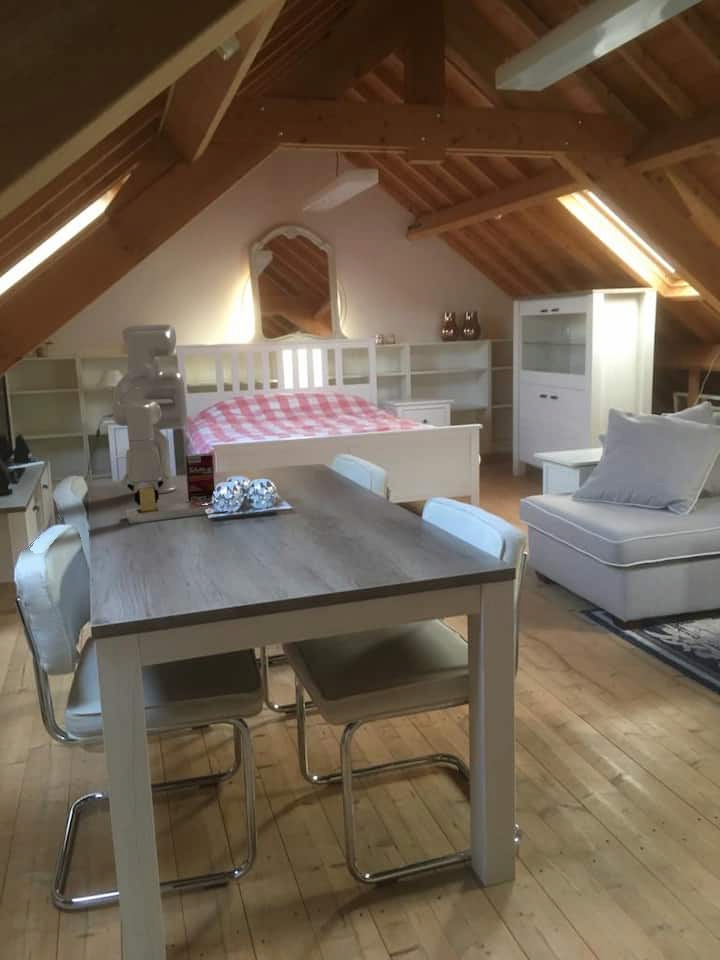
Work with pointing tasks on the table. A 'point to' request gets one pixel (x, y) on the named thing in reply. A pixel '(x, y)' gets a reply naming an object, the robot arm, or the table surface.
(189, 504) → the grey board
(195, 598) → the table surface
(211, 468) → the supplement box
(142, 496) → the yellow rectangular block
